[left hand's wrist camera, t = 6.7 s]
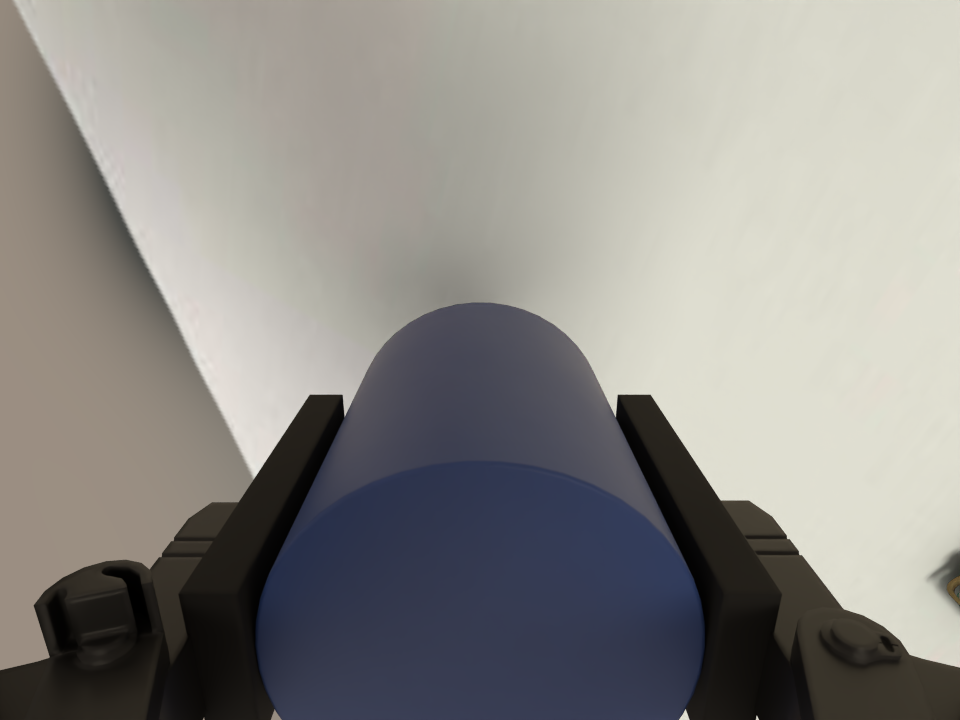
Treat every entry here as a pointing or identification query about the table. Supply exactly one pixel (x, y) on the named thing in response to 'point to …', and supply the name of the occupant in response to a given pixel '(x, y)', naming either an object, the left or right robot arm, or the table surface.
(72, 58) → the table surface
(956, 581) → the spray gun
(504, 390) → the can
